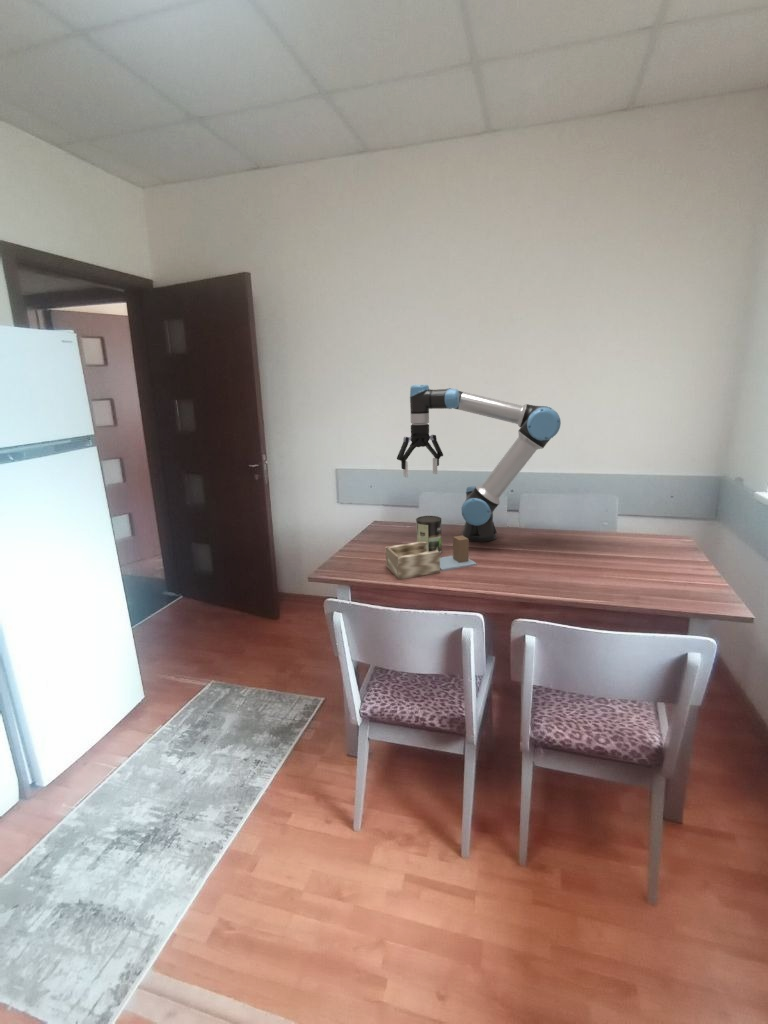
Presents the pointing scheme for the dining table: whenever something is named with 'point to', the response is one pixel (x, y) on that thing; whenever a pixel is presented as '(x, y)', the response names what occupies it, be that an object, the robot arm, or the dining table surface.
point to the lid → (457, 555)
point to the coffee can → (429, 532)
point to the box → (412, 560)
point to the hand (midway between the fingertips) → (420, 475)
